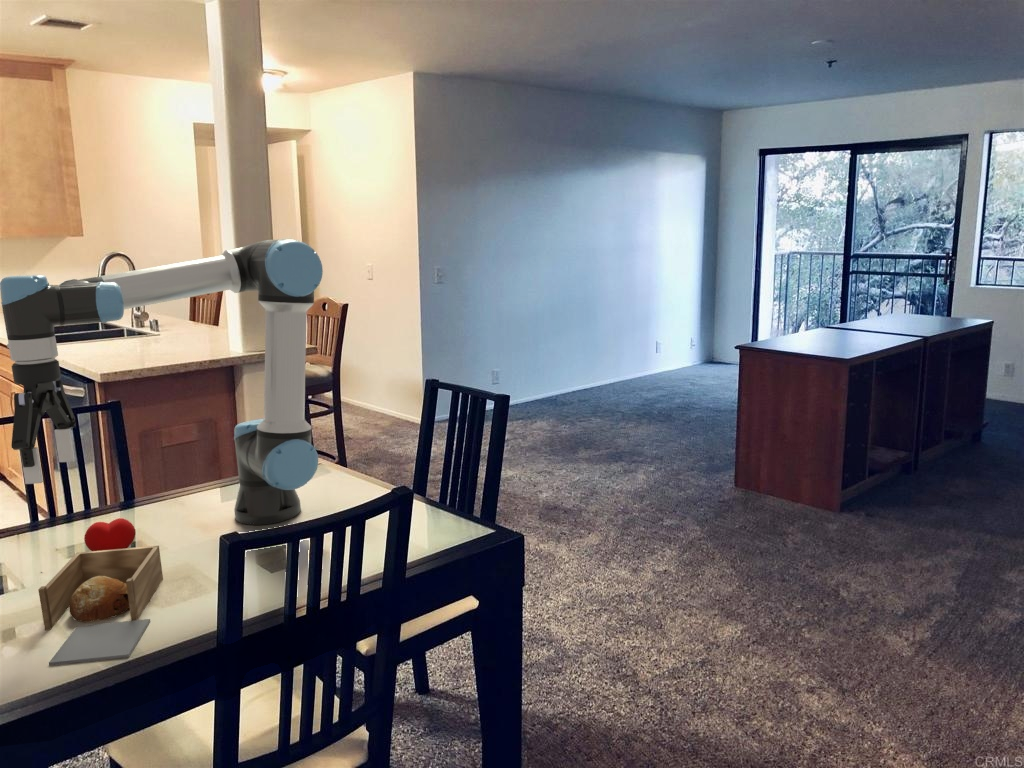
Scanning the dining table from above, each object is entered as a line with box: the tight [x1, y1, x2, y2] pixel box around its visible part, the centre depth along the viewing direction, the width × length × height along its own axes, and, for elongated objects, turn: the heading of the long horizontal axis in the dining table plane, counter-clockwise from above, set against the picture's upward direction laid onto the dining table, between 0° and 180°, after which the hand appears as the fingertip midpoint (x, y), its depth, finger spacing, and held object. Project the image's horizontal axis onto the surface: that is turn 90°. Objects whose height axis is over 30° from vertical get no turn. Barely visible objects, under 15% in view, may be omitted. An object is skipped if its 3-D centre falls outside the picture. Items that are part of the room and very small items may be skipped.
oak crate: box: [38, 545, 164, 631], centre depth 147 cm, size 15×17×8 cm
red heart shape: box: [83, 517, 137, 551], centre depth 163 cm, size 9×7×10 cm
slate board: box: [48, 618, 151, 666], centre depth 134 cm, size 12×12×1 cm
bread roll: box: [68, 576, 130, 623], centre depth 145 cm, size 10×10×8 cm
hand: (51, 471), depth 151 cm, fingers open, 13 cm apart
